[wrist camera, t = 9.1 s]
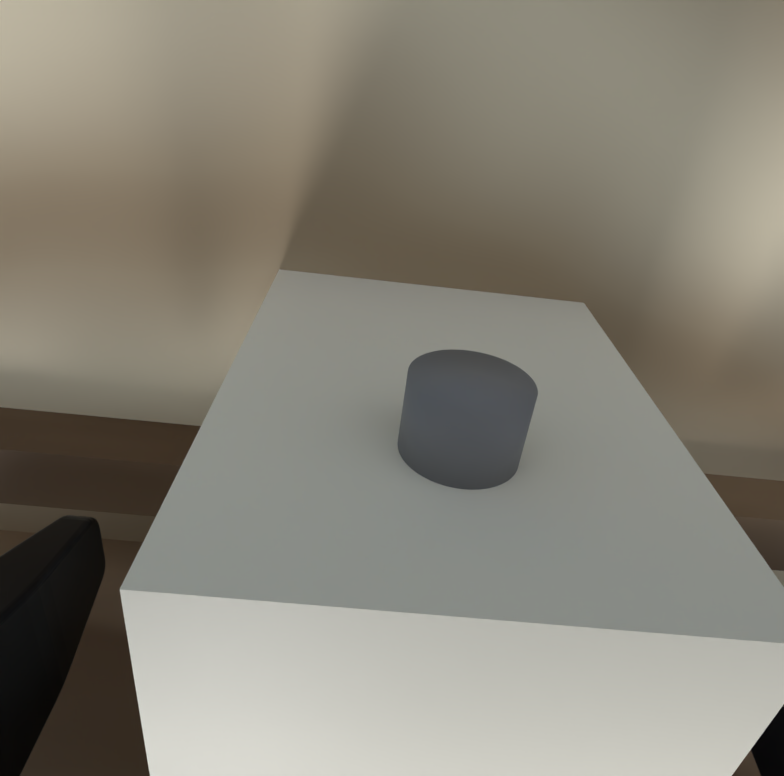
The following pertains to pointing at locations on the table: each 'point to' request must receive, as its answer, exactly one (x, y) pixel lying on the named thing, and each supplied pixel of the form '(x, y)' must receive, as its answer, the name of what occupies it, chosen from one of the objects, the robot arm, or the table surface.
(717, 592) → the white knobbed block
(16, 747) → the robot arm
